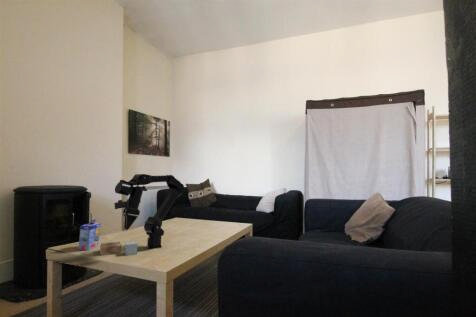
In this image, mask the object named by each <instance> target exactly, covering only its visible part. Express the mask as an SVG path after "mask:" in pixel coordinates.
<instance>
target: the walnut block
mask: <svg viewBox="0 0 476 317" xmlns="http://www.w3.org/2000/svg"><path fill="white" fill-rule="evenodd" d="M99 246H100V247H99V249H100V250H99V255H100V256H107V255H116V254H122V243H121V241H114V242H113V241H112V242H100V245H99Z"/></svg>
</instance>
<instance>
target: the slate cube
mask: <svg viewBox="0 0 476 317" xmlns="http://www.w3.org/2000/svg"><path fill="white" fill-rule="evenodd" d="M124 244H125V246H124V255H125V256H132V255H138V242H137V241H129V242H128V241H127V242H125V243H124Z"/></svg>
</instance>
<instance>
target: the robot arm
mask: <svg viewBox="0 0 476 317" xmlns="http://www.w3.org/2000/svg"><path fill="white" fill-rule="evenodd" d="M153 183H166V185H167V187H168V191H167V193H168V194H167V195H166V197H165V199H164V200H163V202H162V203H161V205H160V206H159V208H158V209H157V211H156V213H155V214H154V215H153V216H148V217H147V219H146V221H145V222H144V226H143V229H144V232H145V233H146V235H147V239H146V240H147V241H146V247H147V248H148V249H156V248H158V249H159V248H162V247H163V246H162V236H164V235H165V231H164V229H163V228H162V226H163V220H164V218H165V216H166V214H167V213H168V212H169V210H170V208H171V207H172V205H173V204H174V202H175V200H176V199H177V198H178V197H179V198H180V196H181V195H182V194H184V192H185V185H184V184H183V183H182V182H181V181H180V180H179V179H177V178H176V177H175V175H173V174H166V175H165V174H163V175H152V174H151V175H150V174H147V173H146V174H145V173H136V174H134V175H133V176H132V178H131V179H130V180H128V181H126V180H125V179H120V180H119V182H117V183H116V184H115V187H114V192H115V194H119V195H122V196H125V197H126V196H128V199H127V200H126V201H123V200H122V199H119V200H117V202H114V204H113V205H114V210H119V209H122V216H123V217H124V222H123V223H124V224H123V225H124V226H123V230H124V229H125V230H126V231H128V230H129V229H131V227H132V226H133V224H134V223H135V222H136V220H137V219H138V218H139V216H140V213H141V211H140V209H139V207H140V203H141V202H142V200H141V199H142V196H143V192H147V191H148V189H147V187H146V186H147V185H149V184H153ZM145 185H146V186H145Z"/></svg>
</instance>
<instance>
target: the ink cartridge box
mask: <svg viewBox="0 0 476 317" xmlns="http://www.w3.org/2000/svg"><path fill="white" fill-rule="evenodd" d="M96 220H97V219H92V220H91V221H90V222H89V223H84V224H82V225H80V228H79V239H78V240H79V241H78V250H81V251H89V250H91V249H93V248H96V247H99V246H100V245H99V243H100V234H101V232H100V231H101V222H96Z"/></svg>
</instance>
